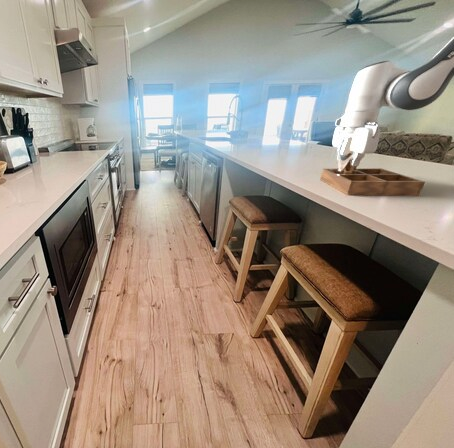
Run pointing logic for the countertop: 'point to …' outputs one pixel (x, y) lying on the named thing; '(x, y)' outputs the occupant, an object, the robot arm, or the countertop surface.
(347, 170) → the beer glass
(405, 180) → the wooden compartment tray
